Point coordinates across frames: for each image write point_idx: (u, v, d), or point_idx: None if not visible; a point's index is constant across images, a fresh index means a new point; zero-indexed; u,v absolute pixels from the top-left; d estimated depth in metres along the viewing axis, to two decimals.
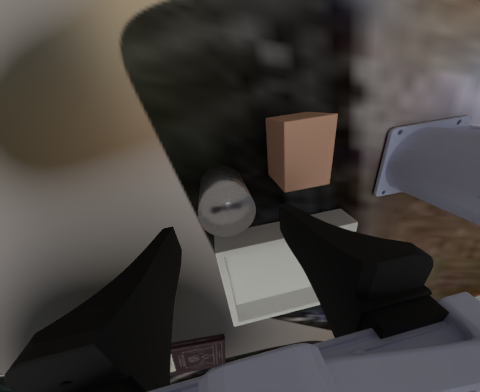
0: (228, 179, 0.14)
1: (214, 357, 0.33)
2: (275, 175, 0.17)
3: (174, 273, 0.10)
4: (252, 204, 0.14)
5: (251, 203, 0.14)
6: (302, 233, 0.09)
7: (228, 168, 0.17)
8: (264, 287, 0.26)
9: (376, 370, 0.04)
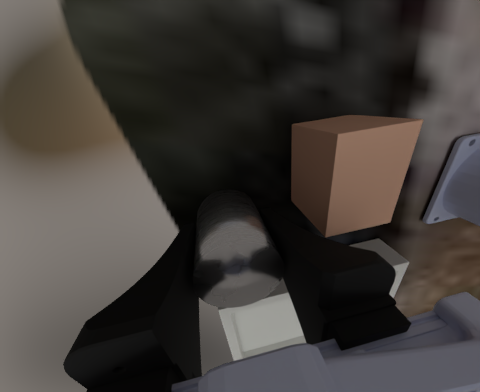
0: (241, 221, 0.09)
1: None
2: (306, 206, 0.11)
3: None
4: (279, 263, 0.09)
5: (278, 262, 0.09)
6: (278, 238, 0.09)
7: (237, 197, 0.12)
8: (278, 332, 0.21)
9: (376, 370, 0.04)
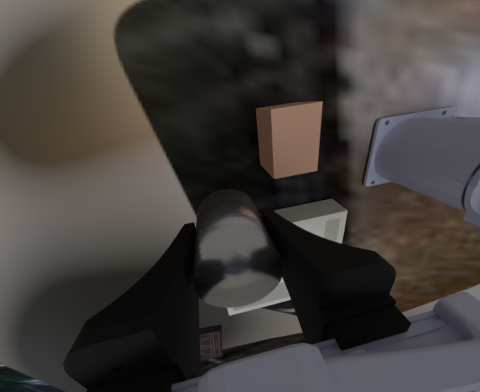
0: (241, 221, 0.09)
1: (212, 348, 0.34)
2: (266, 163, 0.17)
3: None
4: (279, 263, 0.09)
5: (278, 262, 0.09)
6: (278, 238, 0.09)
7: (237, 197, 0.11)
8: None
9: (376, 370, 0.04)
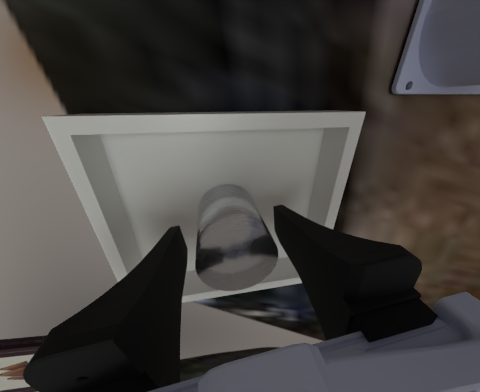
0: (239, 211, 0.10)
1: None
2: None
3: (181, 272, 0.10)
4: (274, 249, 0.09)
5: (272, 247, 0.09)
6: (295, 235, 0.09)
7: (235, 191, 0.12)
8: None
9: (376, 370, 0.04)
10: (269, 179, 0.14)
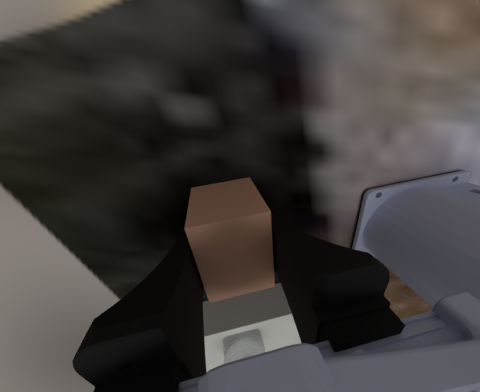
0: None
1: None
2: None
3: None
4: None
5: None
6: (274, 239, 0.09)
7: (247, 340, 0.18)
8: (223, 360, 0.22)
9: (376, 370, 0.04)
10: None
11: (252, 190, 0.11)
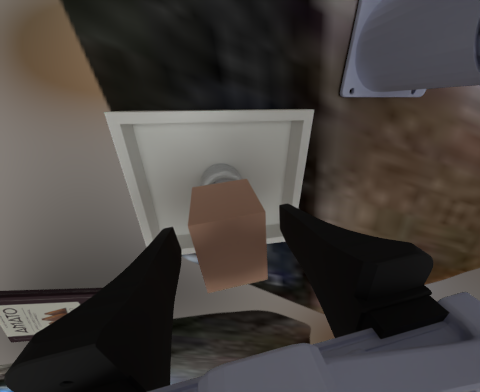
0: (223, 178, 0.15)
1: None
2: None
3: (173, 273, 0.10)
4: None
5: None
6: (302, 233, 0.09)
7: (222, 167, 0.17)
8: None
9: (376, 370, 0.04)
10: (252, 160, 0.19)
11: (249, 191, 0.11)
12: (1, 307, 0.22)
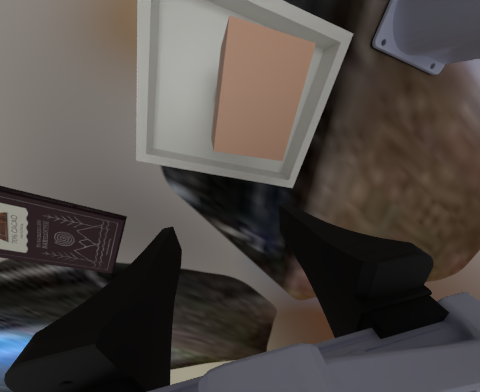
0: None
1: (99, 252, 0.23)
2: (213, 130, 0.11)
3: (173, 273, 0.10)
4: None
5: None
6: (302, 233, 0.09)
7: None
8: (201, 134, 0.18)
9: (376, 370, 0.04)
10: None
11: None
12: None
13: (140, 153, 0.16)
